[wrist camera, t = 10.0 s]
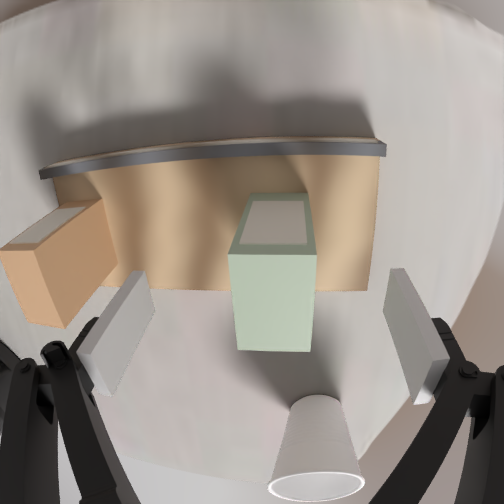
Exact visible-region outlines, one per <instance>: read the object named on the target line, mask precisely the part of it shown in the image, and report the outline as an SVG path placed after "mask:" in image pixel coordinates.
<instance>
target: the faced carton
mask: <svg viewBox="0 0 504 504" xmlns="http://www.w3.org/2000/svg"><path fill="white" fill-rule="evenodd" d="M0 259H1V261H2V264H3V267H4V269H5V272H6V274H7V277H8V279H9V281H10V284H11V286H12V289H13V291H14V293H15V295H16V298H17V300H18V302H19V304H20V306H21V309H22V311H23V313H24V315H25V317H26V319H27V321H28V322H29V323H34V324H39V325H45V326H50V327H56V328H62V329H65V328H66V327H67V326H68V325H69V323H70V322H71V321H72V319H73V318H74V317H75V316H76V314H77V313H78V312H79V310H80V309H81V308H82V307H83V305H84V304H85V303H86V302H87V300H88V299H89V298H90V297H91V296H92V294H93V293H94V292H95V291H96V289H97V288H98V287H99V286H100V285H101V283H102V282H103V281H104V280H105V279H106V277H107V276H108V275H109V274H110V273H111V272H112V270H113V269H114V268H115V267H116V266H117V265H118V260H117V256H116V253H115V249H114V245H113V241H112V237H111V233H110V229H109V225H108V221H107V217H106V212H105V208H104V203H103V199H92V200H82V201H73V202H66V203H65V204H63V205H61V206H60V207H58V208H57V209H55V210H54V211H52V212H51V213H49V214H48V215H46V216H45V217H43V218H42V219H41V220H39V221H38V222H36V223H35V224H33V225H32V226H31V227H29V228H28V229H26V230H25V231H24V232H22V233H21V234H19V235H18V236H17V237H15V238H14V239H13V240H11V241H10V242H9V243H7V244H6V245H5V246H3V247H2V248H1V249H0Z"/></svg>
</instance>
